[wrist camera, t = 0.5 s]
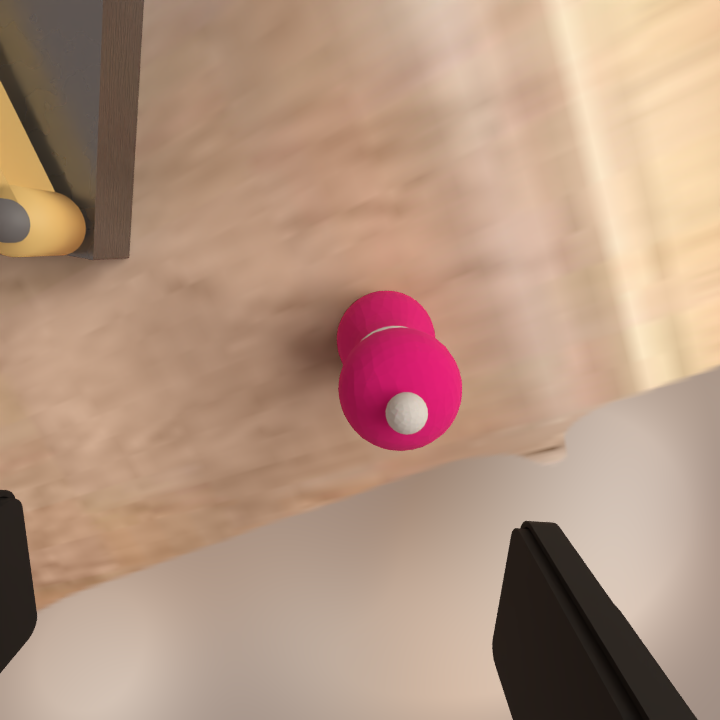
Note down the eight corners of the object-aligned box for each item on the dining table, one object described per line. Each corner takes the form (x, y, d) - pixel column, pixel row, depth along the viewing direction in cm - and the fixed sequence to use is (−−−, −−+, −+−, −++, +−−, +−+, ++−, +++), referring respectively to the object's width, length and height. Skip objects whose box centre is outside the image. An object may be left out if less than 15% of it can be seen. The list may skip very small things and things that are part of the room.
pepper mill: (434, 359, 38) (512, 479, 19) (351, 380, 39) (344, 517, 19) (415, 275, 36) (481, 312, 17) (329, 298, 37) (297, 358, 17)
